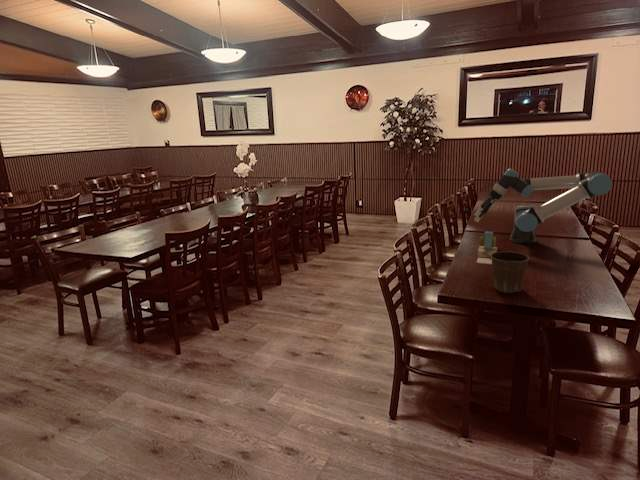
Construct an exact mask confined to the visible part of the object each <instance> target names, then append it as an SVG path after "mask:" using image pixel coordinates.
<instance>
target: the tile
mask: <svg viewBox="0 0 640 480" xmlns="http://www.w3.org/2000/svg"><path fill="white" fill-rule="evenodd" d="M476 264H479V265H481V264H482V265H491V266H493V265H492V258H483V257H477V260H476Z"/></svg>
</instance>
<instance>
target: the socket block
mask: <svg viewBox="0 0 640 480" xmlns="http://www.w3.org/2000/svg"><path fill="white" fill-rule="evenodd" d="M495 252H498V247H496V246H495V247H491V250H484V246H480V245H479V246H478V249H477V258H489V259H492V258H491V254H492V253H495Z"/></svg>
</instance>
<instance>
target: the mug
mask: <svg viewBox="0 0 640 480" xmlns="http://www.w3.org/2000/svg"><path fill="white" fill-rule="evenodd" d="M479 237H480V238H479V246H484V243H485V235H484V236H479ZM496 242H497V238H496V236H492V247H496Z"/></svg>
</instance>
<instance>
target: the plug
mask: <svg viewBox="0 0 640 480" xmlns="http://www.w3.org/2000/svg"><path fill="white" fill-rule="evenodd" d="M493 235H494V231H486V230H485V231H484V236H485V243H484V250H491V247H492V237H494V236H493Z"/></svg>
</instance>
